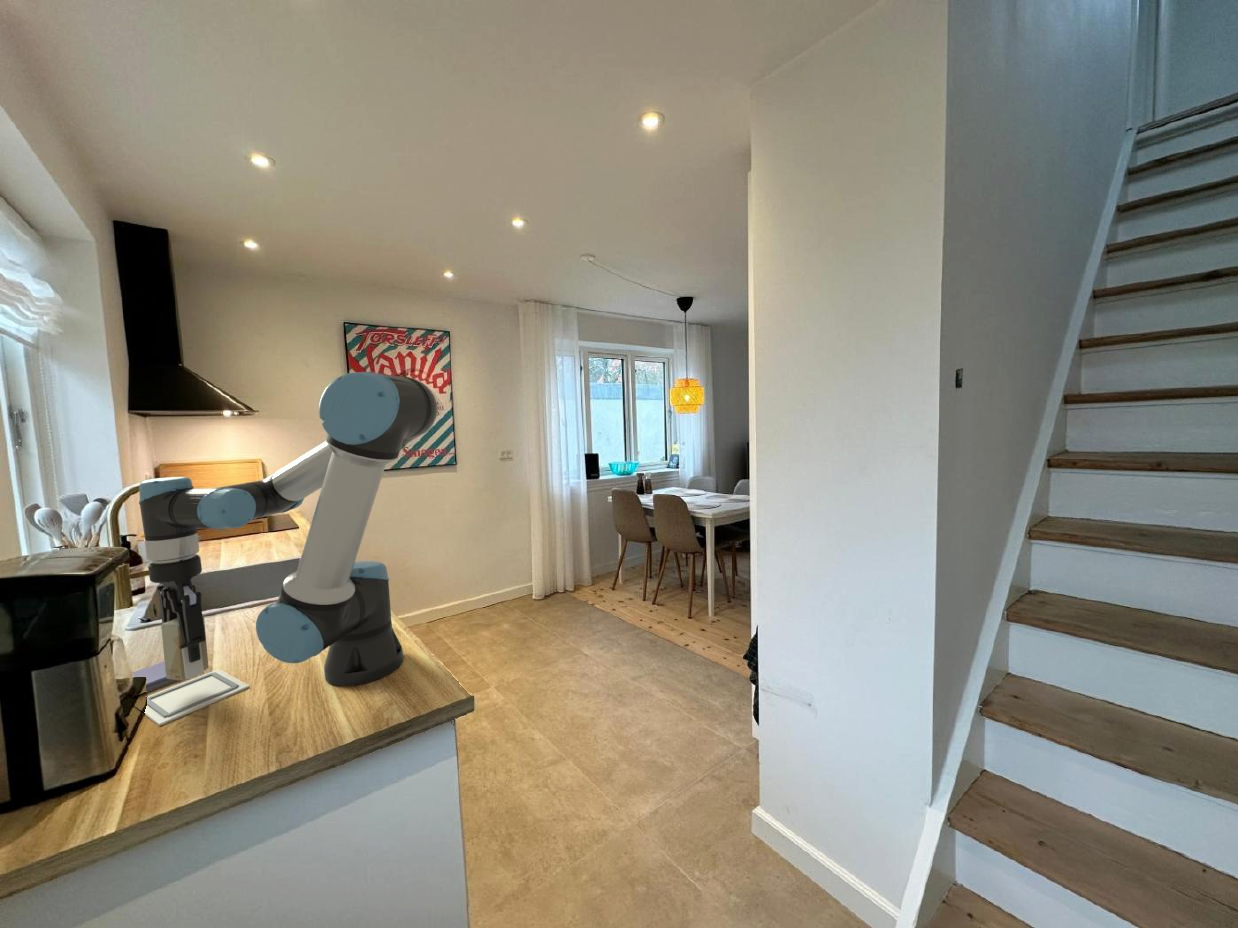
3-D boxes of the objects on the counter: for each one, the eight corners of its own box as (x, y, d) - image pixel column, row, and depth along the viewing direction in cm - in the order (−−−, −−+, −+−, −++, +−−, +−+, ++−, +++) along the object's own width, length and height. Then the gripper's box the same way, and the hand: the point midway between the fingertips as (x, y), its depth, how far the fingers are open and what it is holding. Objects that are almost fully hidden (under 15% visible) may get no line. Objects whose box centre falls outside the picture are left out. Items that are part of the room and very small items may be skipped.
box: (182, 681, 94) (175, 626, 92) (165, 679, 95) (158, 624, 93) (210, 667, 99) (204, 614, 97) (194, 665, 100) (188, 613, 98)
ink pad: (195, 673, 106) (195, 666, 105) (133, 697, 97) (132, 689, 97) (177, 663, 111) (176, 656, 110) (116, 684, 102) (115, 677, 102)
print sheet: (249, 687, 99) (249, 683, 99) (159, 725, 87) (158, 722, 87) (218, 670, 107) (218, 667, 106) (131, 704, 95) (131, 701, 95)
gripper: (219, 558, 93) (232, 674, 95) (179, 547, 102) (192, 653, 104) (167, 570, 86) (183, 694, 89) (131, 556, 96) (145, 669, 98)
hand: (188, 671), depth 97 cm, fingers closed on box, 5 cm apart
